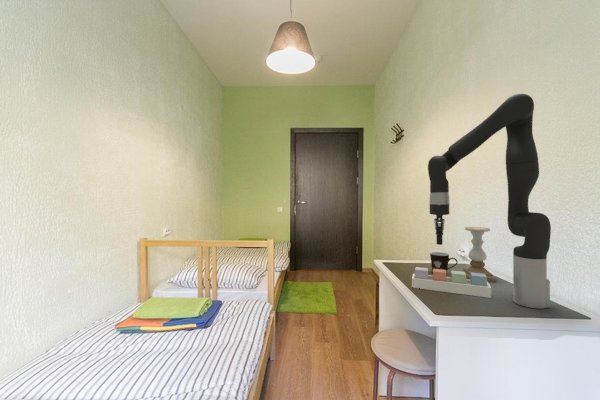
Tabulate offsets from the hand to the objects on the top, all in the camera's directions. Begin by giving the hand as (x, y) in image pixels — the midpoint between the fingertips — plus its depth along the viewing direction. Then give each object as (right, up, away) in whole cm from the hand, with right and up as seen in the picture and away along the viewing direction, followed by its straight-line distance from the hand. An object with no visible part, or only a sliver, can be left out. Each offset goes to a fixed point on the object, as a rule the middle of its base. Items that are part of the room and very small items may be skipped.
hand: (439, 243), depth 116 cm
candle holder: (+25, -19, +14) cm, 34 cm away
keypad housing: (+3, -19, -1) cm, 19 cm away
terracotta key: (0, -16, 0) cm, 16 cm away
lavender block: (-6, -16, +3) cm, 18 cm away
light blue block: (+13, -16, -6) cm, 21 cm away
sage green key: (+6, -16, -3) cm, 18 cm away
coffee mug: (+12, -19, +21) cm, 31 cm away
